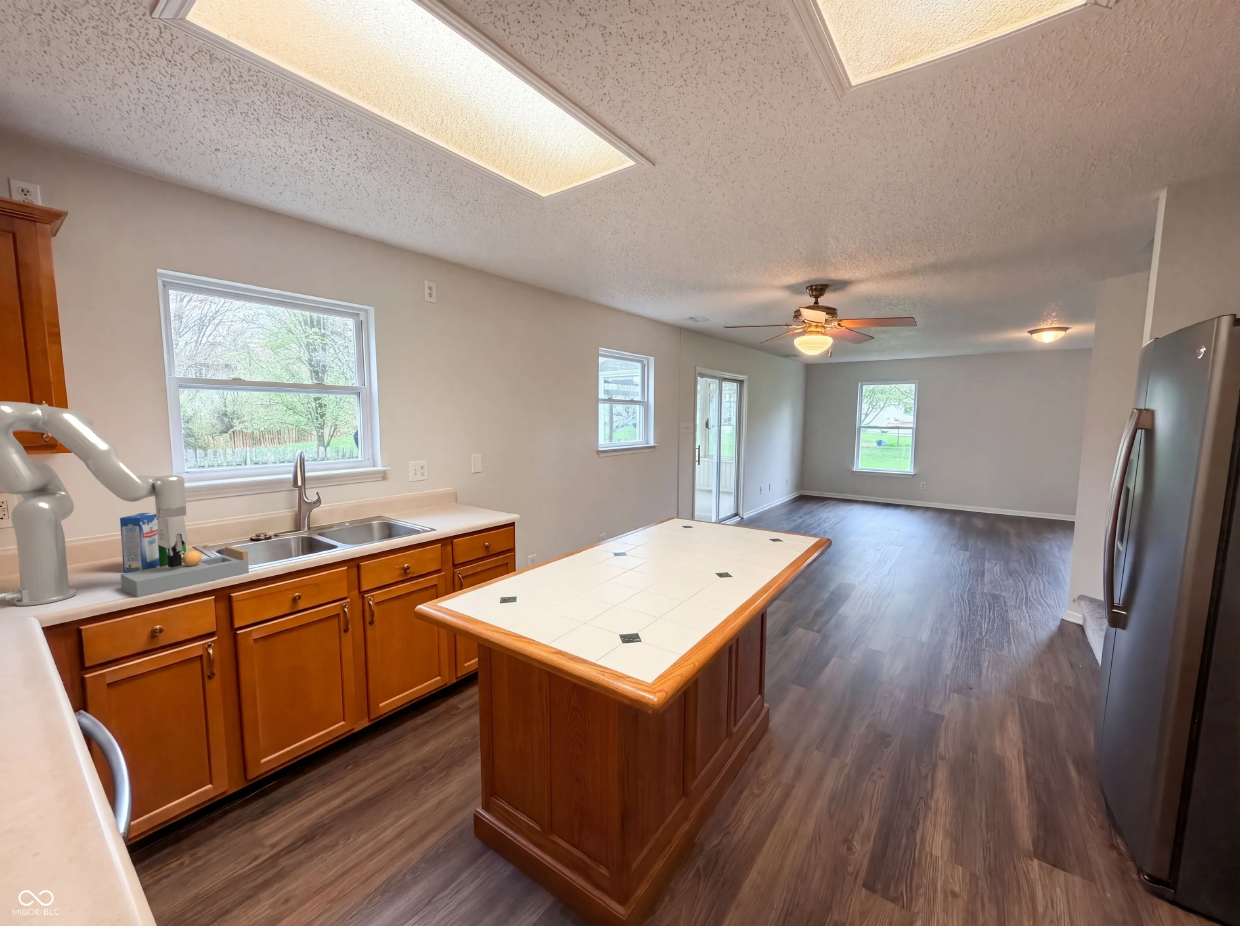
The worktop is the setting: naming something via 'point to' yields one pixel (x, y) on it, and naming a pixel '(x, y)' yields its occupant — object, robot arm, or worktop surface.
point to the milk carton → (139, 542)
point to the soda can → (163, 555)
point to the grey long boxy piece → (186, 573)
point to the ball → (191, 558)
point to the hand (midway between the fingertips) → (175, 566)
